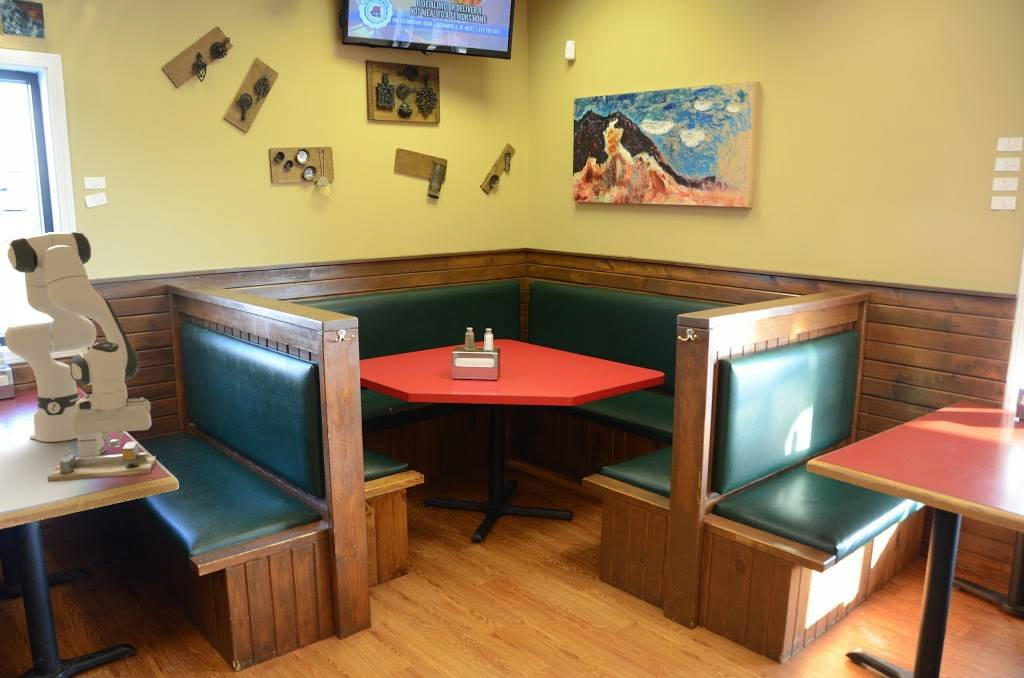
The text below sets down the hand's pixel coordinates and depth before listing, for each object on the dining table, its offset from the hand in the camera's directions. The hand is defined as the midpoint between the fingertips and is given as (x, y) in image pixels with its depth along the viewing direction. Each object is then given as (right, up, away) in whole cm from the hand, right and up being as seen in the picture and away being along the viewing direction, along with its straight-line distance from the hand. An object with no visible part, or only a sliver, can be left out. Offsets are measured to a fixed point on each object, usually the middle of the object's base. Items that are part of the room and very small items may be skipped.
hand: (114, 446), depth 235 cm
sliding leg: (+4, -5, +1) cm, 7 cm away
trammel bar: (-3, -6, 0) cm, 6 cm away
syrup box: (-14, -5, +16) cm, 22 cm away
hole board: (-3, -7, 0) cm, 8 cm away
